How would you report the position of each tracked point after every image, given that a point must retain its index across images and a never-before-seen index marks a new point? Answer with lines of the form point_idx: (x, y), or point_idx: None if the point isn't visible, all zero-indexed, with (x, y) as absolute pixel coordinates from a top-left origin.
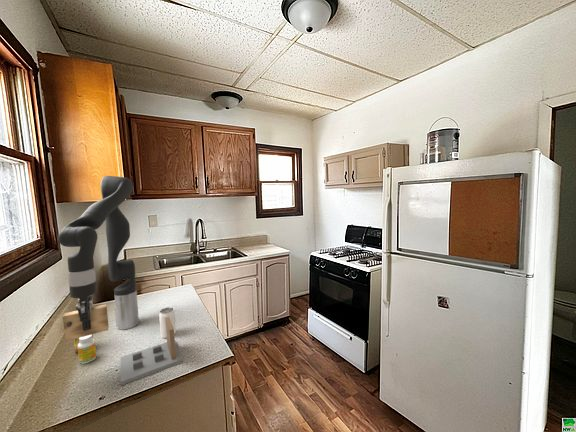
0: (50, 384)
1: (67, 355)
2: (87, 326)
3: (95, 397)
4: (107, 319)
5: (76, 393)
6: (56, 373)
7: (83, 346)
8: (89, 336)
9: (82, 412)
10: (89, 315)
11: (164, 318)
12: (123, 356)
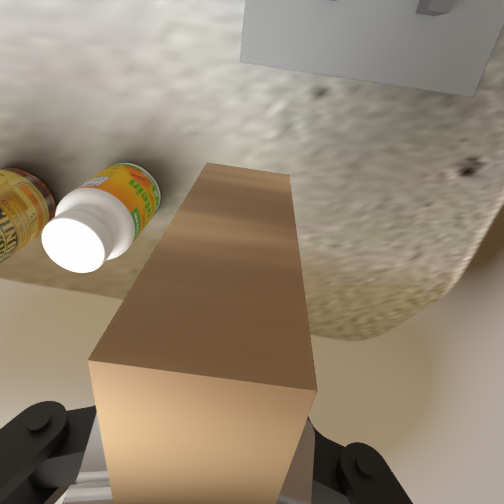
0: None
1: None
2: None
3: (441, 187)
4: (252, 211)
5: (352, 234)
6: None
7: (129, 240)
8: (84, 230)
9: (482, 225)
10: (311, 476)
11: None
12: (243, 46)
